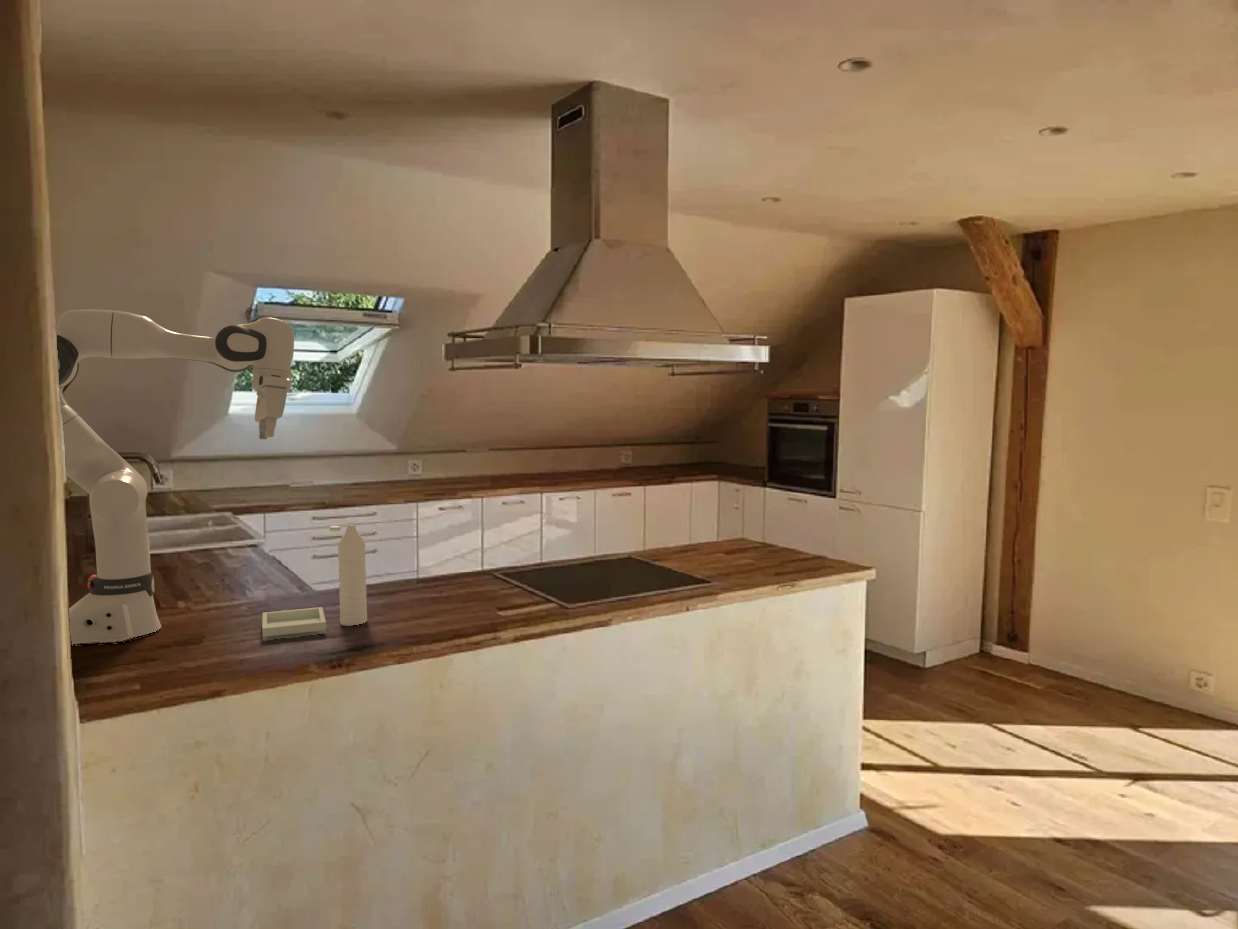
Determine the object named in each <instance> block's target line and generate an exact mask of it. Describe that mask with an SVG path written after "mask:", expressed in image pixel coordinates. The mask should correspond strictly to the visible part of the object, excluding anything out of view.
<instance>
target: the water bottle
mask: <svg viewBox="0 0 1238 929" xmlns="http://www.w3.org/2000/svg"><path fill="white" fill-rule="evenodd" d="M345 526H346V527H345V532H344V533H343V534H342V536H341V538H340V539H339V541H338V542H337V543H338V544H337V554H338V556H337V557H338V582H339V585H338V590H339V594H338V595H339V597H338V598H339V613H340V614H339V622H340V625H341V626H346V627H353V625H357V626H360V625H359V624H362V625H364V624H366V623H367V622H368V612H367V610H368V604H367V600H368V599H367V598H368V597H367V596H368V595H367V572H366V570H367V569H366V542H365V540H364V538H363V537H362V535H361V534H360V532H358V530H357V524H355V523H350V524H349V523H348V524H346V525H345ZM341 530H342V529H341V526H340V525H331V526H330V527H329V531H330V532H339V531H341ZM366 621H367V622H366ZM365 622H366V623H365ZM363 623H364V624H363Z"/></svg>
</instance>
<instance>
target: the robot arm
mask: <svg viewBox="0 0 1238 929" xmlns="http://www.w3.org/2000/svg"><path fill="white" fill-rule="evenodd" d="M55 325H56V326H55V332H56V333H57V350H58V372H59V386H60V399H61V409H62V421H63V431H64V444H65V466H66V475H65V476H66V477H68V478H69V479H70V480H71V481H73V482H74V483H75V484H76V485H78V486H79V487H80V488H81V489H82V490H84V491H85V492H86V493H87V494H88V495H89V498H88V499H89V508H90V509H89V510H90V518H91V523H92V532H93V538H94V546H95V559H96V560H95V561H96V574H92V575H91V576H89V577H88V579H87V591H88V593H87V594H86V595H84V596H83V597H82V598H81V599H79V600H78V601H77V602H76V603H74V604H73V605H72V606H70V607H69V608H68V609H69V618H70V635H71V641H72V646H73V644H78V643H79V644H80V643H90V642H91V643H92V642H100V643H102V642H104V643H105V642H116V641H123V640H126V639H129V638H133V637H137V636H141V635H145V634H149V633H152V632H155V633H156V631H157V630H158V631H160V630H161V629H162V627H161V626H162V624H161V622H160V619H159V616H158V613H157V609H156V604H155V601H154V594H155V578H154V572H153V570H151V550H150V549H151V548H150V537H149V530H148V520H147V507H146V506H147V505H146V501H147V500H146V499H147V496H148V491H149V489H148V483H147V481H146V480H145V478H144V477H143V476H142V475H141V474H140V473H139V472H138V471H137V470H136V469H135V468H134V467H133V466H132V465H131V464H130V463H128V461H126V460H125V459H124V458H123V457H122V456H121V455H120V454H119V453H118V452H116V450H114V449H113V448H112V447H111V446H109V445H108V444H107V443H106V441H104V439H103V438H102V437H100V436H99V435H98V434H97V433H96V431H95V430H94V429H93V428H92V427H91V426H90V425H88V423H87V422H86V421H85V420H84V419H83V418H82V417H81V416H80V415H79V414H78V413H77V412H76V411H75V410H74V409H73V408H72V407H71V405H69V404H68V402H67V401H66V399H65V397H64V396H63V394H64V392H65V391H67V388H69V386H70V385H71V384H72V383H73V381H74V380H75V379H76V377H77V376H78V373H79V369H80V365H79V363H80V361H82V360H84V359H86V358H106V359H116V360H117V359H119V360H121V359H123V360H130V359H131V360H141V359H145V360H146V359H167V358H168V359H175V360H176V359H177V360H186V361H193V362H194V361H196V362H205V363H209V364H213V365H215V366H216V367H219V368H221V369H223V370H225V371H228V372H232V373H243V372H246V371H247V370H248V369H250V368H252V366H253V373H252V379H251V380H252V382H251V389H253V390H256V396H257V399H256V405H255V412H254V421H255V422H256V423H258V430H259V431H258V439H259V440H263V441H264V440H265V441H266V440H267V439H268V438H274V436H275V430H276V425H277V420H279V419H280V418H283V415H284V412H285V408H286V401H287V395H288V394H289V393H290V391H291V387H292V386H291V385H292V369H291V368H292V367H291V364H292V361H293V359H294V351H295V350H294V349H295V334H294V329H293V328H292V326H291V325H290V324H289V323H288V322H286V321H284V320H283V319H279V318H275V317H270V316H265V317H262V318H260V319H259V320H255V321H252V322H249V323H242V324H231V325H228V326H225V327H223V328H221V329H220V330H219V331H218V333H216V336H211V337H210V336H202V335H193V334H187V333H186V334H185V333H179V332H174V331H171V330H168V329H166V328H164V327H163V326H161V325H159V324H158V323H156V322H155V321H154V320H152V319H151V318H149V317H147V316H144V315H140V314H137V313H132V312H128V311H121V310H111V309H95V308H94V309H93V308H90V309H89V308H86V309H85V308H84V309H82V308H81V309H71V310H67V311H64V312H63V313H62V314H61V315H60V316H59V317H58V319H57V323H56V324H55ZM160 628H161V629H160ZM159 629H160V630H159ZM158 631H157V632H158ZM152 634H153V633H152ZM73 647H74V646H73Z"/></svg>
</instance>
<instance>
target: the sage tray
mask: <svg viewBox="0 0 1238 929" xmlns="http://www.w3.org/2000/svg"><path fill="white" fill-rule="evenodd" d="M261 621H262V622H261V623H262V625H261V626H262V628H261V629H262V641H264V642H267V641H274V639H277V640H281V639H280V638H286V639H295V638H302V637H301V636H305V637H308V636H307V635H314V636H316V635H315V634H322V633H324V635H326V634H327V622H326V618H325V612H324V609H323V606H319V607H309V608H296V609H288V610H287V609H286V610H277V611H268V612H266V611H265V612H262V620H261ZM325 633H326V634H325ZM294 637H295V638H294Z"/></svg>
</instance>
